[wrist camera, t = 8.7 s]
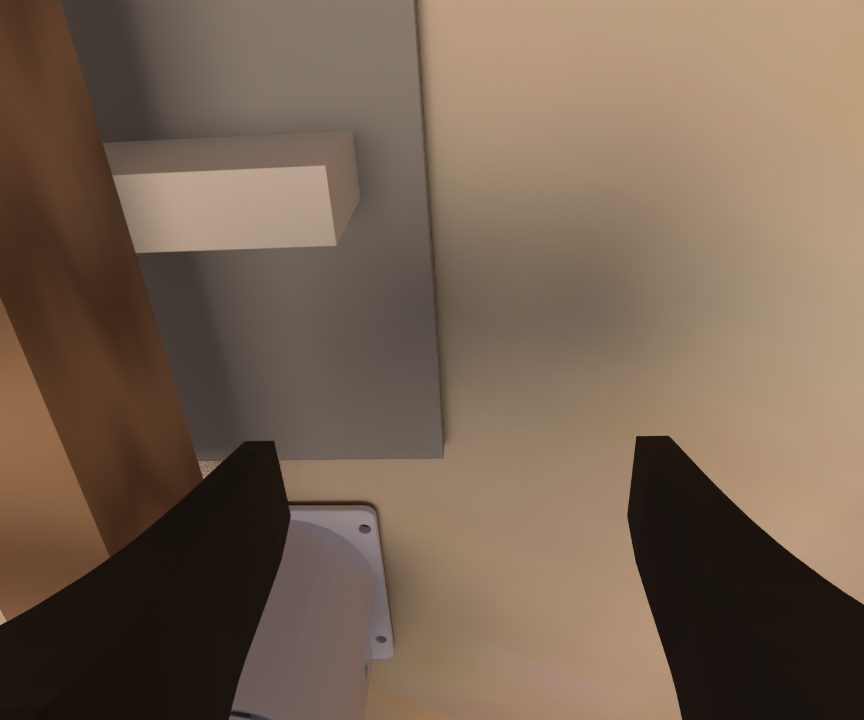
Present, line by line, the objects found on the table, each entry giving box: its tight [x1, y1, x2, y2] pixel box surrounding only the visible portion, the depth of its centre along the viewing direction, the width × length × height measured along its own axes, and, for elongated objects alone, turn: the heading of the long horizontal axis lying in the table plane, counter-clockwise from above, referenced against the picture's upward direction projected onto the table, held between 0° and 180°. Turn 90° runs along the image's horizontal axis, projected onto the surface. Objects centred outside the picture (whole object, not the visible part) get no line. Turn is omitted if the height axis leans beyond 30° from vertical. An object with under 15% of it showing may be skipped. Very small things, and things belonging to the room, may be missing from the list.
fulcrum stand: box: [60, 0, 445, 461], centre depth 19 cm, size 22×18×5 cm
